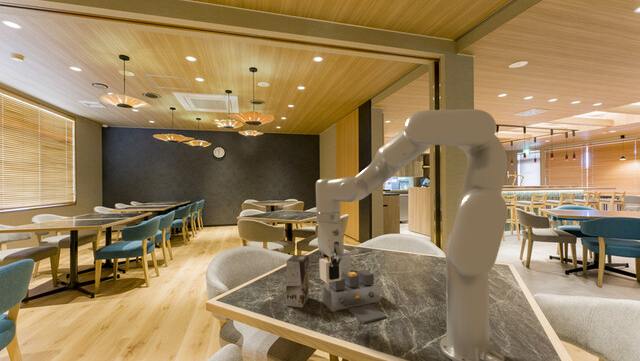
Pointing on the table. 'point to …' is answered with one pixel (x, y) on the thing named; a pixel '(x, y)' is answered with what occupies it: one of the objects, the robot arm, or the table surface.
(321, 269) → the cap
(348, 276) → the toggle mid
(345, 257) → the light bulb box
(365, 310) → the pad
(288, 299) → the coffee box
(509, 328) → the table surface
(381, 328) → the table surface
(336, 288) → the toggle left
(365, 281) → the toggle right
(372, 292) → the breaker console
